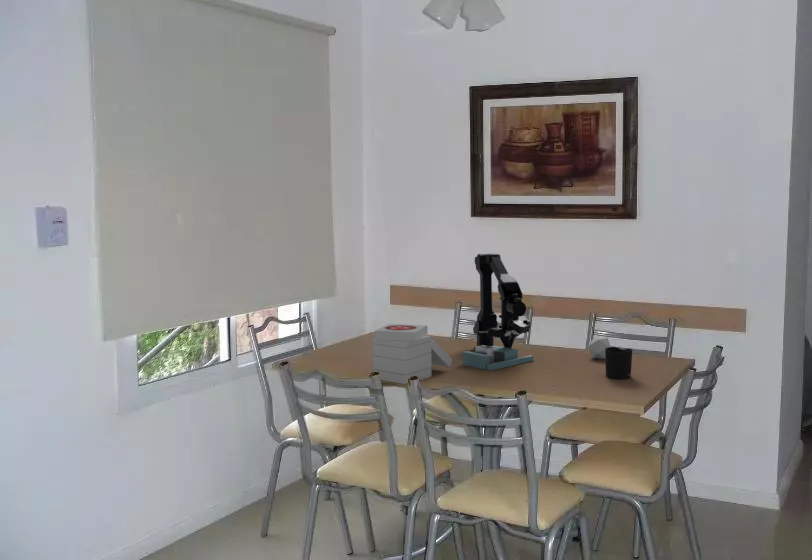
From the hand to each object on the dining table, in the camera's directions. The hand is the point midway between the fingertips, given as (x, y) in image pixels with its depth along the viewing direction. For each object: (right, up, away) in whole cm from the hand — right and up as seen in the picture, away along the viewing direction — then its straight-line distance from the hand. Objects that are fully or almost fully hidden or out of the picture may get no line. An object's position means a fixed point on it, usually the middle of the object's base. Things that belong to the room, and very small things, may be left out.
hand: (508, 352), depth 352 cm
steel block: (-10, -4, -8) cm, 14 cm away
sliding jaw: (-4, -4, -3) cm, 6 cm away
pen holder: (+36, -7, -30) cm, 47 cm away
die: (+36, -3, +2) cm, 36 cm away
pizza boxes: (-38, -7, -24) cm, 46 cm away
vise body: (-5, -4, -5) cm, 8 cm away
